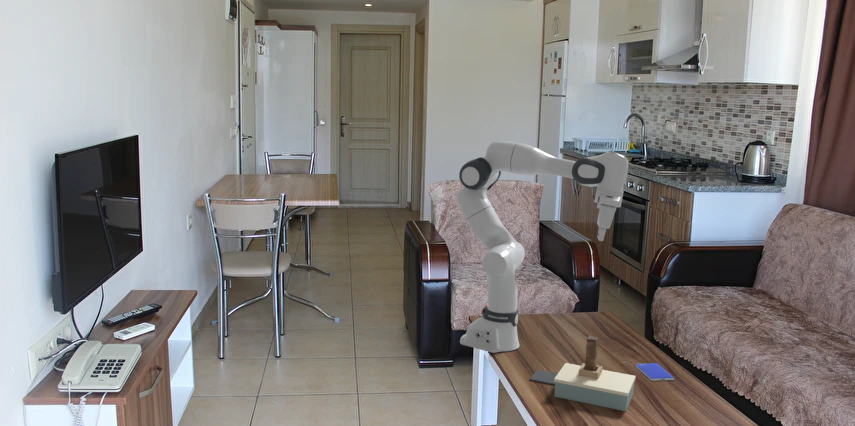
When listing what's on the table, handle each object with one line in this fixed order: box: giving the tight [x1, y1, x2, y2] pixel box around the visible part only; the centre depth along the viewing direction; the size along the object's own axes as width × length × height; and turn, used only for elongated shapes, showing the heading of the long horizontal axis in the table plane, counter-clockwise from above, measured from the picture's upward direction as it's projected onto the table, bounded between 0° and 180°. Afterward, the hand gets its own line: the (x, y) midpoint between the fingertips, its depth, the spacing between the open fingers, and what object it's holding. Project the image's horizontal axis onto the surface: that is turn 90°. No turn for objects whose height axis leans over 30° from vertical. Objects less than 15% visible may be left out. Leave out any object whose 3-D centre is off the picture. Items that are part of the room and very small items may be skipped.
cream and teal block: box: [554, 362, 637, 412], centre depth 219 cm, size 23×15×8 cm, turn 65°
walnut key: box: [584, 335, 599, 371], centre depth 220 cm, size 3×3×12 cm
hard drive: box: [635, 362, 675, 382], centre depth 238 cm, size 2×8×12 cm
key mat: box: [529, 369, 559, 386], centre depth 232 cm, size 9×9×1 cm
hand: (599, 239), depth 235 cm, fingers open, 8 cm apart
